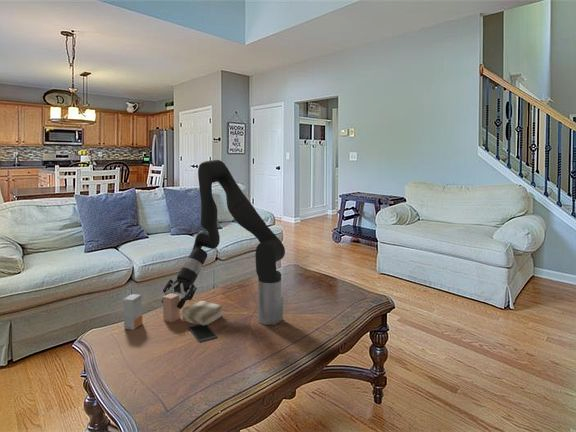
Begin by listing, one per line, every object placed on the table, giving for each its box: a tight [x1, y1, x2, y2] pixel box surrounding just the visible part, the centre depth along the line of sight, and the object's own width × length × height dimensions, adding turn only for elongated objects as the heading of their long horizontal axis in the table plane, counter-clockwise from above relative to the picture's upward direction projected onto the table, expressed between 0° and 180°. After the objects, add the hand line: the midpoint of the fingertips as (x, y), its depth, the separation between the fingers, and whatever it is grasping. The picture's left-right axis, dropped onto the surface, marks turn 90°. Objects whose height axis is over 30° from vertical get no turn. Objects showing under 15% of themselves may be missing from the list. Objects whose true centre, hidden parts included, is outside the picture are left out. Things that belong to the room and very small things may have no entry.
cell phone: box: [187, 324, 218, 343], centre depth 142 cm, size 7×14×1 cm, turn 32°
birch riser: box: [182, 300, 223, 325], centre depth 154 cm, size 11×11×5 cm
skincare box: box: [122, 293, 143, 331], centre depth 146 cm, size 6×4×12 cm
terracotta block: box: [162, 293, 181, 323], centre depth 153 cm, size 4×4×10 cm
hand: (170, 305), depth 153 cm, fingers open, 8 cm apart
